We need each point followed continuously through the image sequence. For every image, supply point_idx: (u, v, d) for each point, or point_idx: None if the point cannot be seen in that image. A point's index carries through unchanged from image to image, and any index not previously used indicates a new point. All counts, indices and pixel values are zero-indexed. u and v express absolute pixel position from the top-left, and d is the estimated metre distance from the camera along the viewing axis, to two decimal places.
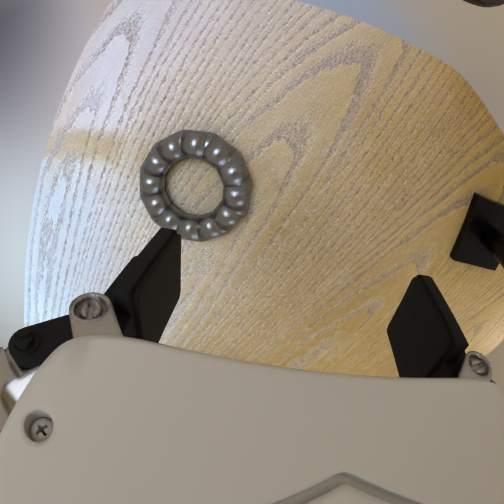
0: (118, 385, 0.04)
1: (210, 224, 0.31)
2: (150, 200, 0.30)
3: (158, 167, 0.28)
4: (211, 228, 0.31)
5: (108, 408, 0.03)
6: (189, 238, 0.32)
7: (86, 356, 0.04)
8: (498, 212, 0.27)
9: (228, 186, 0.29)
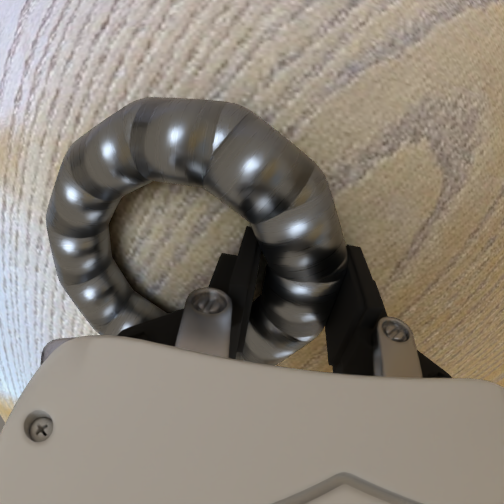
0: (118, 385, 0.04)
1: None
2: (78, 293, 0.11)
3: (79, 213, 0.09)
4: None
5: (108, 408, 0.03)
6: None
7: (86, 356, 0.04)
8: None
9: (287, 277, 0.09)
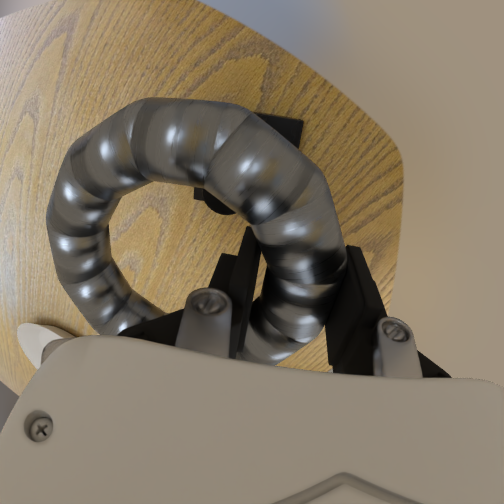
0: (118, 385, 0.04)
1: None
2: (77, 292, 0.11)
3: (79, 213, 0.09)
4: None
5: (108, 408, 0.03)
6: None
7: (86, 356, 0.04)
8: None
9: (287, 279, 0.09)
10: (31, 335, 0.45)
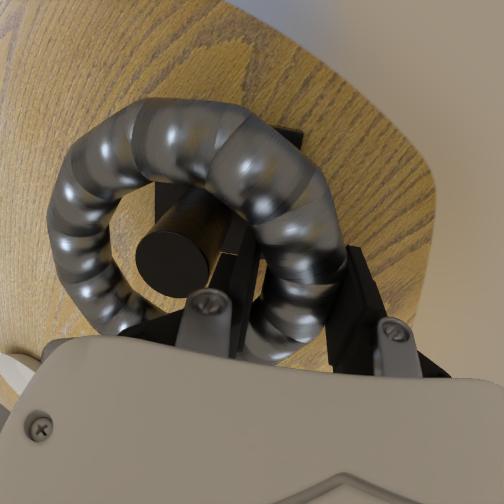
0: (118, 385, 0.04)
1: None
2: (78, 292, 0.11)
3: (80, 212, 0.09)
4: None
5: (108, 408, 0.03)
6: None
7: (86, 356, 0.04)
8: None
9: (287, 279, 0.10)
10: (8, 362, 0.38)
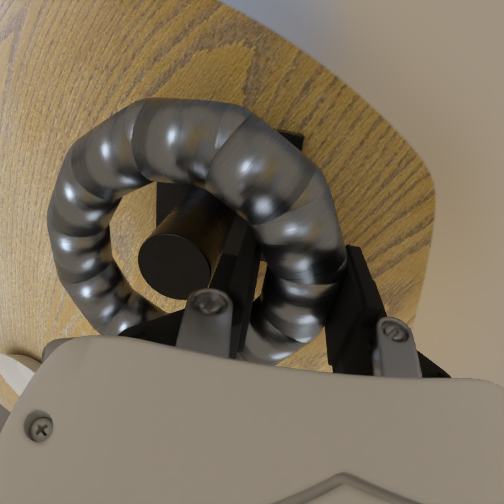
0: (118, 385, 0.04)
1: None
2: (78, 292, 0.11)
3: (80, 212, 0.09)
4: None
5: (108, 408, 0.03)
6: None
7: (86, 356, 0.04)
8: None
9: (287, 279, 0.10)
10: (9, 363, 0.38)
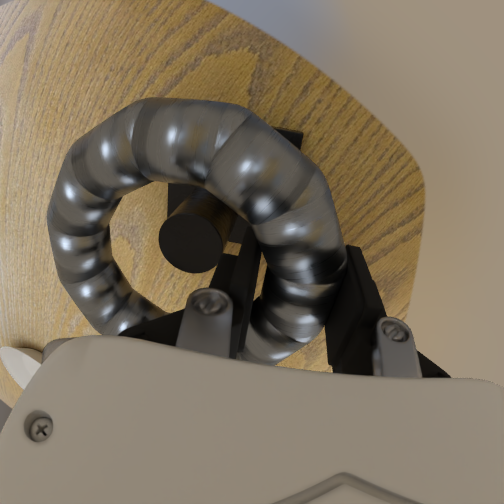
0: (118, 385, 0.04)
1: None
2: (78, 292, 0.11)
3: (80, 212, 0.09)
4: None
5: (108, 408, 0.03)
6: None
7: (86, 356, 0.04)
8: None
9: (287, 279, 0.10)
10: (14, 356, 0.40)
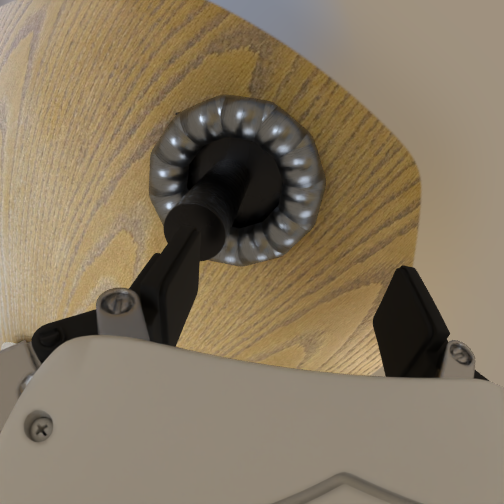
0: (118, 385, 0.04)
1: (259, 242, 0.21)
2: (166, 202, 0.20)
3: (181, 151, 0.18)
4: (260, 248, 0.21)
5: (108, 408, 0.03)
6: (224, 261, 0.22)
7: (86, 356, 0.04)
8: None
9: (294, 186, 0.18)
10: None
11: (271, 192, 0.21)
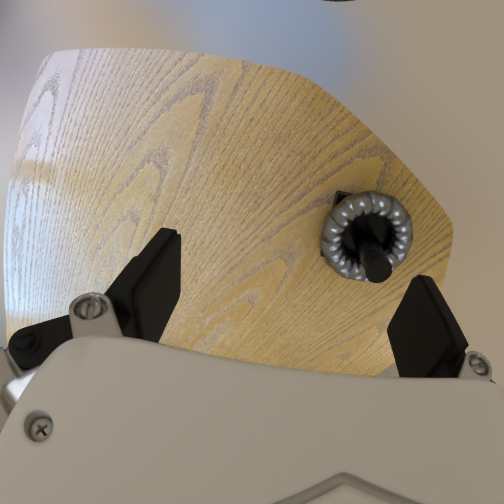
0: (118, 385, 0.04)
1: None
2: (335, 247, 0.35)
3: (349, 221, 0.33)
4: None
5: (108, 408, 0.03)
6: (357, 279, 0.37)
7: (86, 356, 0.04)
8: None
9: (400, 241, 0.34)
10: None
11: (382, 241, 0.37)
